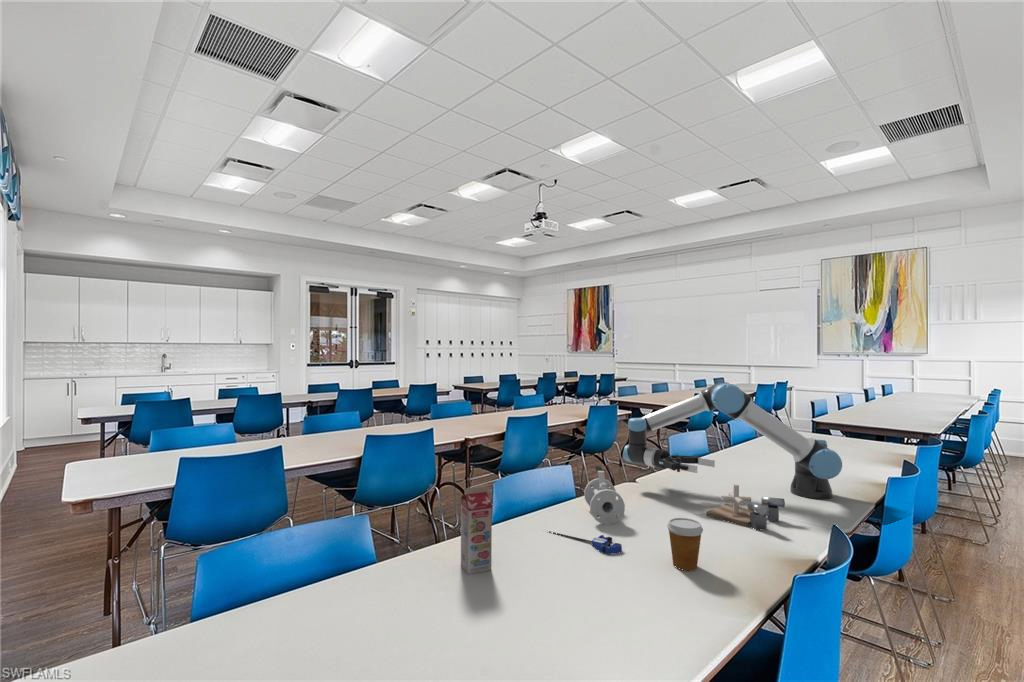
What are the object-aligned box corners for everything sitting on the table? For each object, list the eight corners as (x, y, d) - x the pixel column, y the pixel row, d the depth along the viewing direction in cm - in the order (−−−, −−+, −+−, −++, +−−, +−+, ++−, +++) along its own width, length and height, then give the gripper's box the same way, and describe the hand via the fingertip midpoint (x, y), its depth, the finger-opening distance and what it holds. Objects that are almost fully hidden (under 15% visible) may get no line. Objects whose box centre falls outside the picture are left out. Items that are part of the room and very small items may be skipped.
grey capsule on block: (762, 521, 175) (762, 498, 175) (761, 517, 179) (761, 495, 179) (785, 523, 173) (785, 500, 173) (783, 519, 176) (782, 497, 177)
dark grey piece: (746, 525, 171) (746, 501, 171) (756, 524, 172) (756, 501, 172) (760, 532, 164) (759, 508, 164) (770, 531, 165) (770, 507, 165)
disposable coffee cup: (685, 576, 132) (685, 531, 132) (659, 562, 140) (659, 520, 140) (710, 569, 136) (710, 525, 136) (684, 556, 145) (684, 515, 145)
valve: (625, 525, 171) (624, 481, 171) (590, 524, 171) (590, 481, 171) (612, 505, 193) (612, 466, 193) (582, 505, 193) (582, 466, 193)
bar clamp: (629, 538, 153) (614, 549, 145) (629, 546, 153) (615, 557, 145) (542, 520, 172) (525, 528, 165) (542, 527, 172) (525, 535, 164)
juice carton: (460, 564, 139) (461, 485, 139) (483, 560, 141) (483, 483, 142) (468, 574, 133) (468, 491, 133) (491, 570, 135) (491, 489, 136)
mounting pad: (725, 507, 190) (725, 503, 190) (766, 517, 179) (766, 513, 179) (706, 515, 180) (705, 511, 180) (747, 527, 169) (747, 522, 169)
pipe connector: (744, 508, 184) (744, 481, 184) (755, 517, 174) (756, 489, 174) (716, 507, 185) (717, 480, 185) (726, 516, 175) (727, 488, 175)
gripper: (673, 462, 216) (721, 470, 200) (640, 472, 200) (689, 481, 184) (673, 445, 216) (720, 452, 200) (640, 453, 200) (688, 461, 184)
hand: (705, 466), depth 192 cm, fingers open, 13 cm apart
